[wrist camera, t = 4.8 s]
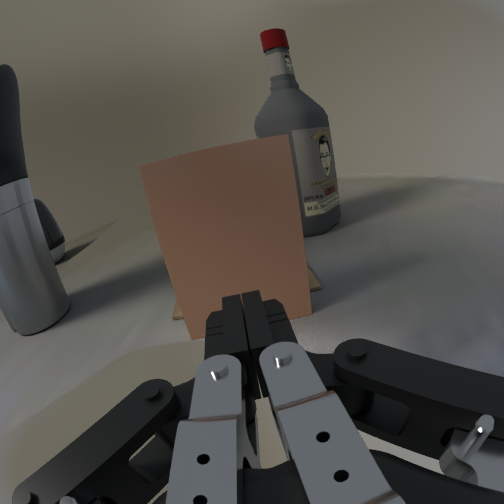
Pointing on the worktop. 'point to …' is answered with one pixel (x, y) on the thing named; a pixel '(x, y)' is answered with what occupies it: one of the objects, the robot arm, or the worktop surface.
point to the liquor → (300, 137)
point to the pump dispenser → (50, 231)
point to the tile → (230, 227)
